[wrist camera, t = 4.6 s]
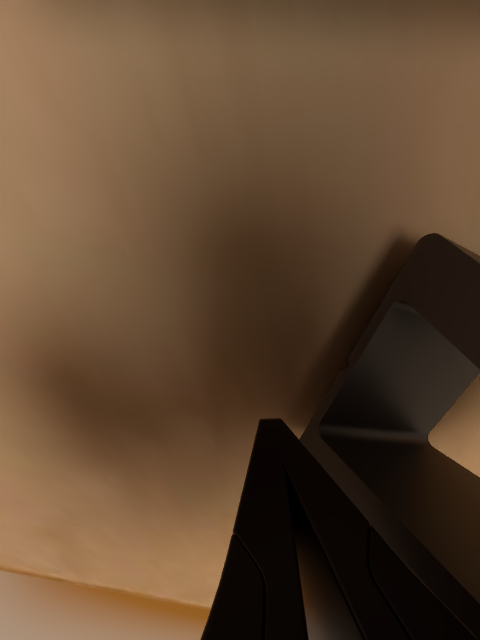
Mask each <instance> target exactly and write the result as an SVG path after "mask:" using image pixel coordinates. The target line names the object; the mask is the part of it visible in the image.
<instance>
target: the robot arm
mask: <svg viewBox="0 0 480 640" xmlns="http://www.w3.org/2000/svg"><path fill="white" fill-rule="evenodd" d="M201 640H479V639H478V638H477V637H476V636H475V635H474V634H473V633H472V632H471V631H470V630H469V629H468V628H467V627H466V626H465V625H464V624H463V623H462V622H461V621H460V620H459V619H458V618H457V617H456V616H455V615H454V614H453V613H452V612H451V611H450V610H449V609H448V608H447V607H446V606H445V605H444V604H443V603H442V602H441V601H440V600H439V599H438V598H437V597H436V595H435V594H434V593H433V592H432V591H431V590H430V589H429V588H428V587H427V586H426V585H425V584H424V583H423V582H422V581H421V580H420V579H419V578H418V577H417V576H416V574H415V573H414V572H413V571H412V570H411V569H410V568H409V567H408V566H407V565H406V564H405V563H404V561H403V560H402V559H401V558H400V557H399V556H398V555H397V554H396V552H395V551H394V550H393V549H392V548H391V547H390V546H389V544H388V543H387V542H386V541H385V540H384V539H383V538H382V536H381V535H380V534H379V533H378V532H377V530H376V529H375V528H374V527H373V526H370V523H369V521H368V520H367V519H366V518H365V517H364V515H363V514H362V513H361V512H360V511H359V510H358V508H357V507H356V506H355V505H354V504H353V502H352V501H351V500H350V499H349V498H348V497H347V495H346V494H345V493H344V492H343V491H342V490H341V488H340V487H339V486H338V485H337V484H336V483H335V481H334V480H333V479H332V478H331V477H330V476H329V474H328V473H327V472H326V471H325V470H324V468H323V467H322V466H321V465H320V464H319V463H318V461H317V460H316V459H315V458H314V457H313V456H312V454H311V453H310V452H309V451H308V450H307V449H306V447H305V446H304V445H303V444H302V443H301V441H300V440H299V439H298V438H297V437H296V436H295V434H294V433H293V432H292V431H291V430H290V429H289V427H288V426H287V425H286V424H285V423H284V422H283V420H282V419H280V418H273V419H260V420H259V424H258V428H257V432H256V436H255V440H254V445H253V449H252V453H251V457H250V461H249V466H248V470H247V474H246V478H245V482H244V487H243V491H242V495H241V499H240V503H239V508H238V512H237V516H236V520H235V524H234V528H233V535H232V536H231V540H230V544H229V549H228V553H227V557H226V561H225V564H224V568H223V572H222V575H221V579H220V583H219V586H218V589H217V592H216V595H215V598H214V601H213V604H212V608H211V611H210V614H209V617H208V620H207V623H206V626H205V628H204V631H203V634H202V637H201Z"/></svg>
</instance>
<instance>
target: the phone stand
mask: <svg viewBox="0 0 480 640" xmlns="http://www.w3.org/2000/svg"><path fill="white" fill-rule="evenodd" d="M348 361H349V366H348V368H347V369H344V368H342V369H341V371H340V373H339V374H338V376H337V378H336V379H335V381H334V383H333V384H332V386H331V388H330V389H329V391H328V393H327V394H326V396H325V398H324V399H323V401H322V403H321V404H320V406H319V408H318V409H317V411H316V413H315V414H314V416H313V418H312V419H311V421H310V423H309V424H308V426H307V428H306V429H305V431H304V433H303V434H302V436H301V438H300V441H301V443H302V444H303V445H304V446H305V447H306V449H307V450H308V451H309V452H310V453H311V454H312V456H313V457H314V458H315V459H316V460H317V461H318V463H319V464H320V465H321V466H322V467H323V468H324V470H325V471H326V472H327V473H328V474H329V476H330V477H331V478H332V479H333V480H334V481H335V483H336V484H337V485H338V486H339V487H340V488H341V490H342V491H343V492H344V493H345V494H346V495H347V497H348V498H349V499H350V500H351V501H352V502H353V504H354V505H355V506H356V507H357V508H358V510H359V511H360V512H361V513H362V514H363V515H364V517H365V518H366V519H367V520H368V521H369V523H370V526H373V527H374V528H375V529H376V530H377V532H378V533H379V534H380V535H381V536H382V538H383V539H384V540H385V541H386V542H387V543H388V544H389V546H390V547H391V548H392V549H393V550H394V551H395V552H396V554H397V555H398V556H399V557H400V558H401V559H402V560H403V561H404V563H405V564H406V565H407V566H408V567H409V568H410V569H411V570H412V571H413V572H414V573H415V574H416V576H417V577H418V578H419V579H420V580H421V581H422V582H423V583H424V584H425V585H426V586H427V587H428V588H429V589H430V590H431V591H432V592H433V593H434V594H435V595H436V597H437V598H438V599H439V600H440V601H441V602H442V603H443V604H444V605H445V606H446V607H447V608H448V609H449V610H450V611H451V612H452V613H453V614H454V615H455V616H456V617H457V618H458V619H459V620H460V621H461V622H462V623H463V624H464V625H465V626H466V627H467V628H468V629H469V630H470V631H471V632H472V633H473V634H474V635H475V636H476V637H477V638H478V639H479V640H480V477H478V476H476V475H475V474H473V473H472V472H470V471H469V470H467V469H466V468H464V467H463V466H461V465H460V464H458V463H457V462H455V461H454V460H452V459H450V458H449V457H447V456H446V455H444V454H443V453H441V452H440V451H438V450H437V449H435V448H434V447H432V446H431V444H430V443H429V441H428V434H429V433H430V431H431V430H432V429H433V428H434V427H435V425H436V424H437V423H438V422H439V421H440V419H441V418H442V417H443V416H444V415H445V413H446V412H447V411H448V410H449V409H450V407H451V406H452V405H453V404H454V403H455V401H456V400H457V399H458V398H459V397H460V395H461V394H462V393H463V392H464V391H465V389H466V388H467V387H468V386H469V385H470V383H471V382H472V381H473V380H474V379H475V377H476V376H477V375H478V374H479V373H480V256H479V255H477V254H475V253H473V252H471V251H469V250H468V249H466V248H464V247H462V246H460V245H458V244H456V243H454V242H452V241H451V240H449V239H447V238H445V237H443V236H441V235H439V234H436V233H432V234H428V235H426V236H424V237H423V238H421V239H420V240H419V241H418V242H417V244H416V245H415V247H414V249H413V250H412V252H411V254H410V255H409V257H408V259H407V260H406V262H405V264H404V265H403V267H402V269H401V270H400V272H399V274H398V275H397V277H396V279H395V280H394V282H393V284H392V285H391V287H390V289H389V290H388V292H387V294H386V296H385V297H384V299H383V301H382V302H381V304H380V306H379V307H378V309H377V311H376V312H375V314H374V316H373V317H372V319H371V321H370V322H369V324H368V326H367V327H366V329H365V331H364V332H363V334H362V336H361V337H360V339H359V341H358V342H357V344H356V346H355V347H354V349H353V351H352V352H351V354H350V356H349V357H348Z"/></svg>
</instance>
